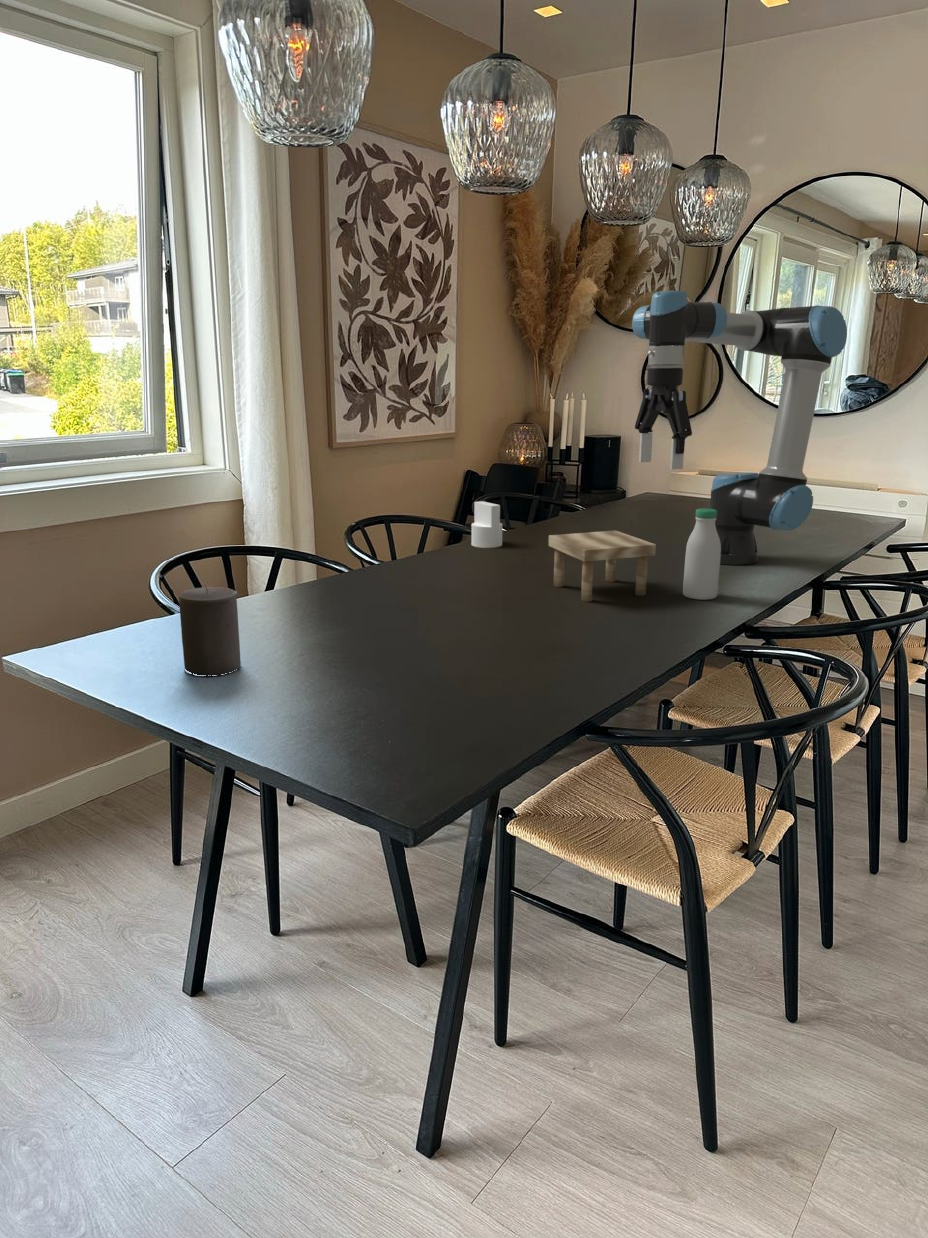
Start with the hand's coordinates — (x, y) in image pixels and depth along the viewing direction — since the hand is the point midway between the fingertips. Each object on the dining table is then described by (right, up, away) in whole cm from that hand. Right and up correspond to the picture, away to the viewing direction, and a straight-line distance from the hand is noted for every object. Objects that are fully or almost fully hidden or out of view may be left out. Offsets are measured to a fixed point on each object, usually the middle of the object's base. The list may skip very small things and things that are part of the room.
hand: (660, 465), depth 199 cm
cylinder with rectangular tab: (-37, -13, +60) cm, 72 cm away
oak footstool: (-12, -28, +10) cm, 32 cm away
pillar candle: (-88, -43, -42) cm, 107 cm away
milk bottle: (+10, -29, +5) cm, 31 cm away
